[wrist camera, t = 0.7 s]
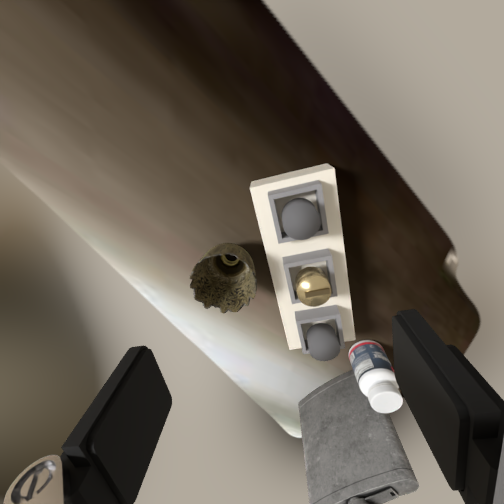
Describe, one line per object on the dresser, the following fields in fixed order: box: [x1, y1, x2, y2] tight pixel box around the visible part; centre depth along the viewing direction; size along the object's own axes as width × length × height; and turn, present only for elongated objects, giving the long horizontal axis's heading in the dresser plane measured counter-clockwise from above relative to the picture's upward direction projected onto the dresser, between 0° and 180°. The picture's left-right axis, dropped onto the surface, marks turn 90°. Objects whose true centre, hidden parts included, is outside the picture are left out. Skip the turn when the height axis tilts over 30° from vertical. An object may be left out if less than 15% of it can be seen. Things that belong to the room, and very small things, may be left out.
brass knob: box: [295, 266, 332, 307], centre depth 31 cm, size 4×4×3 cm
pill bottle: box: [349, 340, 403, 413], centre depth 40 cm, size 5×5×9 cm
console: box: [250, 163, 356, 354], centre depth 35 cm, size 23×9×6 cm, turn 14°
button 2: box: [281, 198, 321, 240], centre depth 28 cm, size 4×4×3 cm
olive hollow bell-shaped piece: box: [190, 243, 257, 313], centre depth 34 cm, size 8×7×8 cm
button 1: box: [306, 323, 340, 361], centre depth 34 cm, size 4×4×3 cm
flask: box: [299, 370, 419, 504], centre depth 39 cm, size 4×14×18 cm, turn 134°
